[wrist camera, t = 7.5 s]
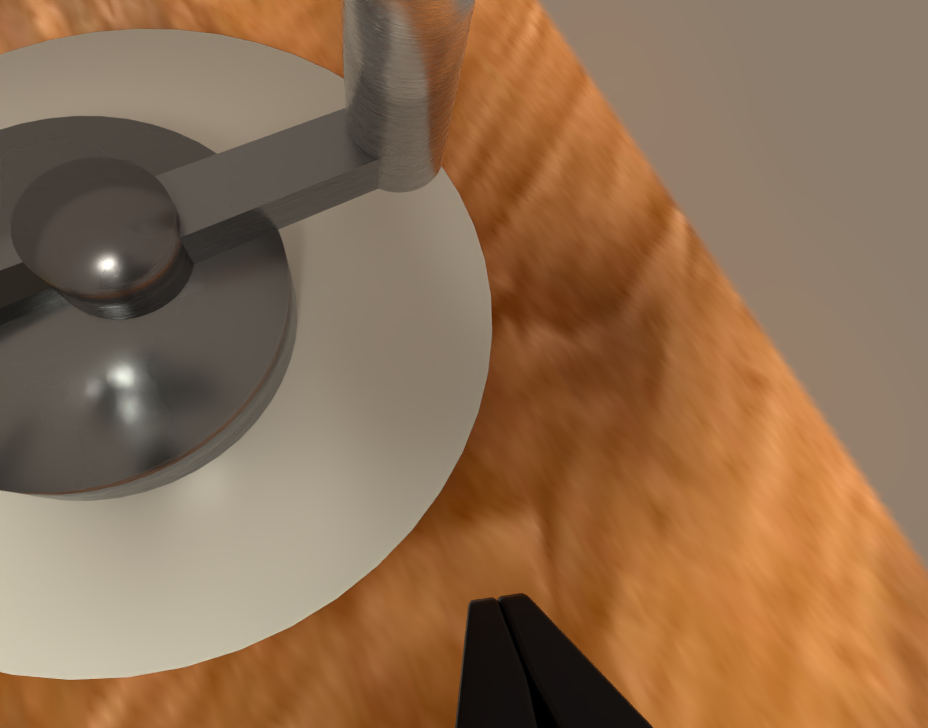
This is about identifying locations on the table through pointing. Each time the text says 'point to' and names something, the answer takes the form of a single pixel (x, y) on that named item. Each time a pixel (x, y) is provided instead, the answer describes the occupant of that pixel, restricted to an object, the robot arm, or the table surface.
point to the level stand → (292, 408)
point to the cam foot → (188, 260)
